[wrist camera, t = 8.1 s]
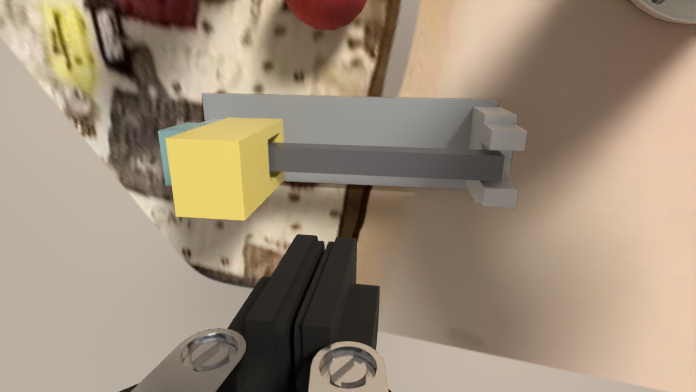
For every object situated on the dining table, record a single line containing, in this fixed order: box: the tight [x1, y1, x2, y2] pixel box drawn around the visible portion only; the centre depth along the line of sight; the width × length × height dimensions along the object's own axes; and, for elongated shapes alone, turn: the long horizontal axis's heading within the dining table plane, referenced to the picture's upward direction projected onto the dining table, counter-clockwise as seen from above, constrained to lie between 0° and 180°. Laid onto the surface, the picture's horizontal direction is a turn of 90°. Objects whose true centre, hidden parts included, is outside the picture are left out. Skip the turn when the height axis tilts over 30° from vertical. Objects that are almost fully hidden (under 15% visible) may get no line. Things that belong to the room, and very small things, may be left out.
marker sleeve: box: [165, 117, 285, 221], centre depth 25 cm, size 4×4×8 cm
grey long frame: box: [158, 93, 528, 208], centre depth 29 cm, size 23×7×8 cm, turn 89°
